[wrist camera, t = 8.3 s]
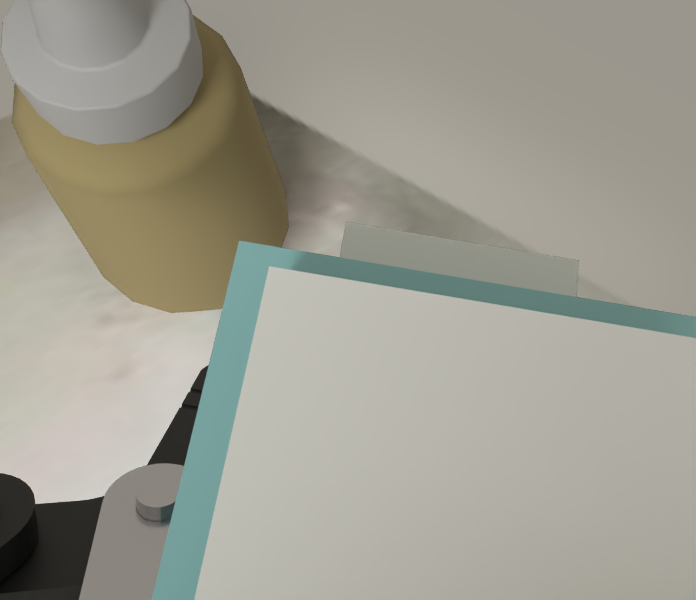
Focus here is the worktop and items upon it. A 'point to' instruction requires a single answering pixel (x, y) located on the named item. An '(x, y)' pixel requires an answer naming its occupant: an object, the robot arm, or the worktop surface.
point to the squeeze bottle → (144, 142)
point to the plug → (435, 433)
